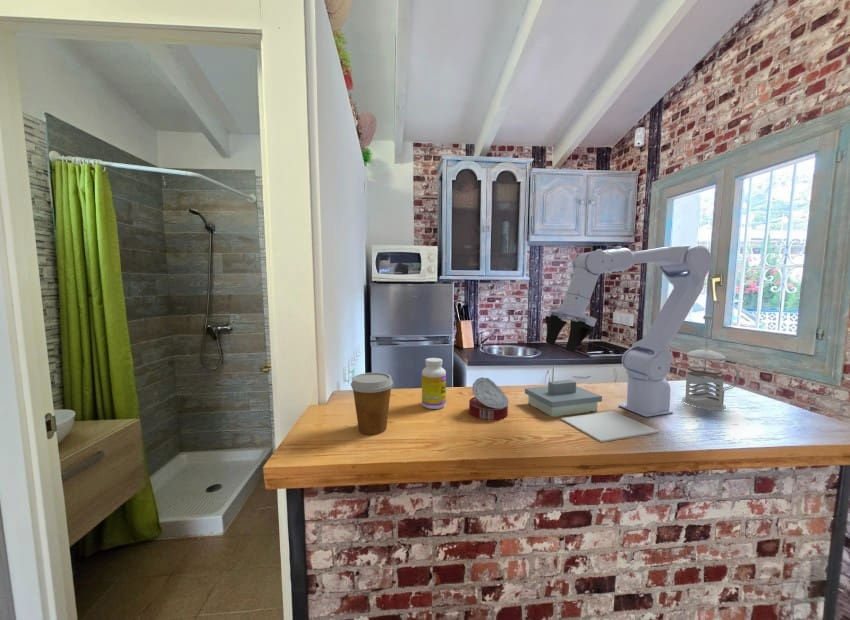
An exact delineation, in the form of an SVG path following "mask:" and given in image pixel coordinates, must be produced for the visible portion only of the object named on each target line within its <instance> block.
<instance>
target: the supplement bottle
mask: <svg viewBox="0 0 850 620" xmlns="http://www.w3.org/2000/svg"><path fill="white" fill-rule="evenodd" d="M424 364H425V367H424V368H423V369H422V371H421V405H422V406H423V408H426V409H429V410H440V409H443V408H444V407H445V406H446V405H447V371H446V369H444V367H442V365H443V359H442V358H438V357H429V358H425V363H424Z"/></svg>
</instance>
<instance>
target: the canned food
mask: <svg viewBox="0 0 850 620" xmlns="http://www.w3.org/2000/svg"><path fill="white" fill-rule="evenodd" d="M471 391H472V393H473V396H474V397H471V398H470V399H469V407H468V411H469V414H471V417H473V418H475V419H478V420H481V419H482V420H483V421H488V420H491V422H493V421H494V420H497V421H501V419H502V420H505V419H506V418H507V417H508V416H509V414H508V413H509V412H508V411H509V398H508V396H507V395H506V394H505V392H504V391H503V390H502V389H501V388H500V386H498V385H497V384H496V383H495V382H494V381H493V380H491V379H490V378H488V377H479V378H477V379H475V380H474V382H473V384H472V389H471ZM504 418H505V419H504ZM492 420H493V421H492ZM494 422H495V421H494Z"/></svg>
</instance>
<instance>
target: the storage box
mask: <svg viewBox="0 0 850 620" xmlns="http://www.w3.org/2000/svg"><path fill="white" fill-rule="evenodd" d="M527 396H528V402H527V403H528V405H530V404H531V405H530V406H532V407H534V408H536V409H537V408H538V410H539V409H540V410H539V411H541V412H543V413H544V414H547V415H548V416H550V417H552V418H554V417H561V416H562V417H563V416H569V415H575V414H583V413H584V412H585V413H591V412H590V411H593V412H598V402H594V403H586V404H578V405H570V406H562V407H554V408H552V407H550V406H548V405H546V404H544V403H542V402H540V401H538V400H536V399H535V398H533V397H531V396H529V395H527Z"/></svg>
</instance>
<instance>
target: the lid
mask: <svg viewBox="0 0 850 620" xmlns="http://www.w3.org/2000/svg"><path fill="white" fill-rule="evenodd" d="M524 394H526V395H527V396H528V395H529V396H531V397H533V398H535V399H536V400H538V401H540V402H542V403H544V404H546V405H548V406H550V407H552V408H554V407H562V406H570V405H578V404H586V403H594V402H597V403H601V402H603V396H602V395H600V394H598V393H594V392H593V391H589V390H587V389H584V388H582V387H579V386H577V382H576V381H574V380H572V379H564V380H555V381H554V380H553V381H547V385H546V386H545V385H544V386H534V387H525V388H524Z"/></svg>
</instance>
